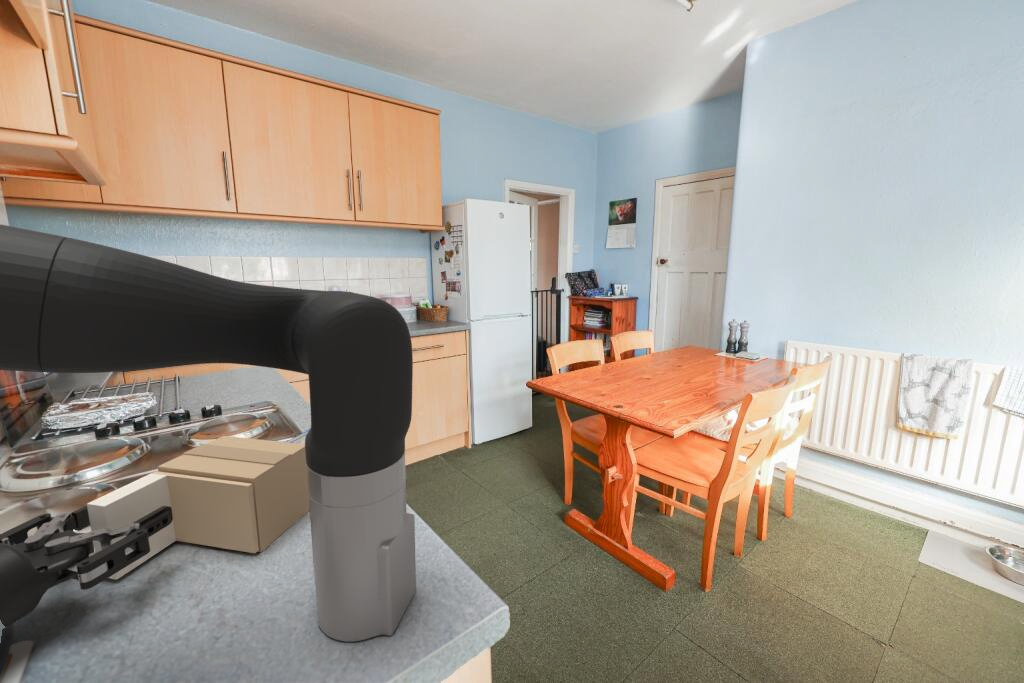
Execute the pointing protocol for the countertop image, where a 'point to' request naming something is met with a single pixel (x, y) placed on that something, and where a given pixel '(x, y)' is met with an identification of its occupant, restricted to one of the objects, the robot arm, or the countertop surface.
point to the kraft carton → (255, 477)
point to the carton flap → (181, 512)
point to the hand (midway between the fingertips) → (139, 508)
